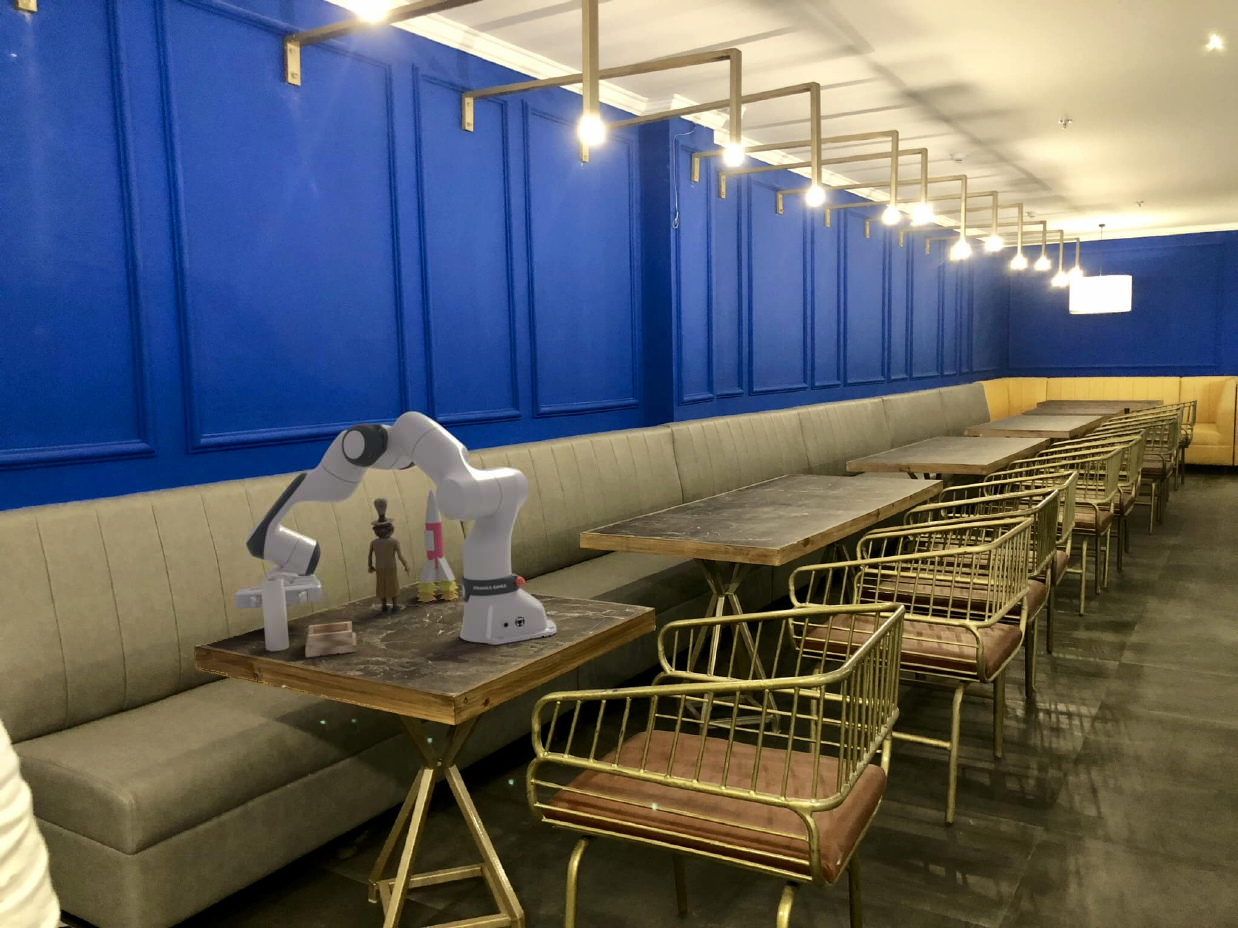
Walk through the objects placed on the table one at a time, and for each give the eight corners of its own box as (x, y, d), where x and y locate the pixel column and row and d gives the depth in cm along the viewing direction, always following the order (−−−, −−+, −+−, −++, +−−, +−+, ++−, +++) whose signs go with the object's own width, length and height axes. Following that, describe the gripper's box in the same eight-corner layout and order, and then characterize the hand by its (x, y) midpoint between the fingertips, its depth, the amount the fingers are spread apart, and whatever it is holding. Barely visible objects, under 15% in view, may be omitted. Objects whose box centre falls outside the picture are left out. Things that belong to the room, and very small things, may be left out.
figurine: (417, 605, 263) (411, 494, 260) (405, 615, 254) (398, 499, 251) (377, 606, 265) (370, 495, 261) (364, 615, 255) (356, 500, 252)
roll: (289, 643, 231) (284, 575, 229) (288, 649, 226) (283, 580, 224) (266, 646, 230) (261, 577, 228) (265, 652, 225) (260, 582, 223)
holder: (355, 638, 233) (354, 620, 233) (356, 651, 223) (355, 631, 222) (307, 644, 230) (305, 625, 230) (305, 657, 220) (304, 637, 219)
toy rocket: (435, 590, 280) (429, 485, 277) (468, 594, 274) (462, 487, 271) (406, 600, 270) (399, 491, 267) (439, 604, 264) (433, 493, 261)
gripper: (235, 581, 246) (229, 593, 232) (321, 573, 251) (320, 584, 238) (237, 606, 246) (232, 619, 233) (323, 597, 252) (322, 610, 238)
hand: (277, 601), depth 235 cm, fingers open, 8 cm apart
